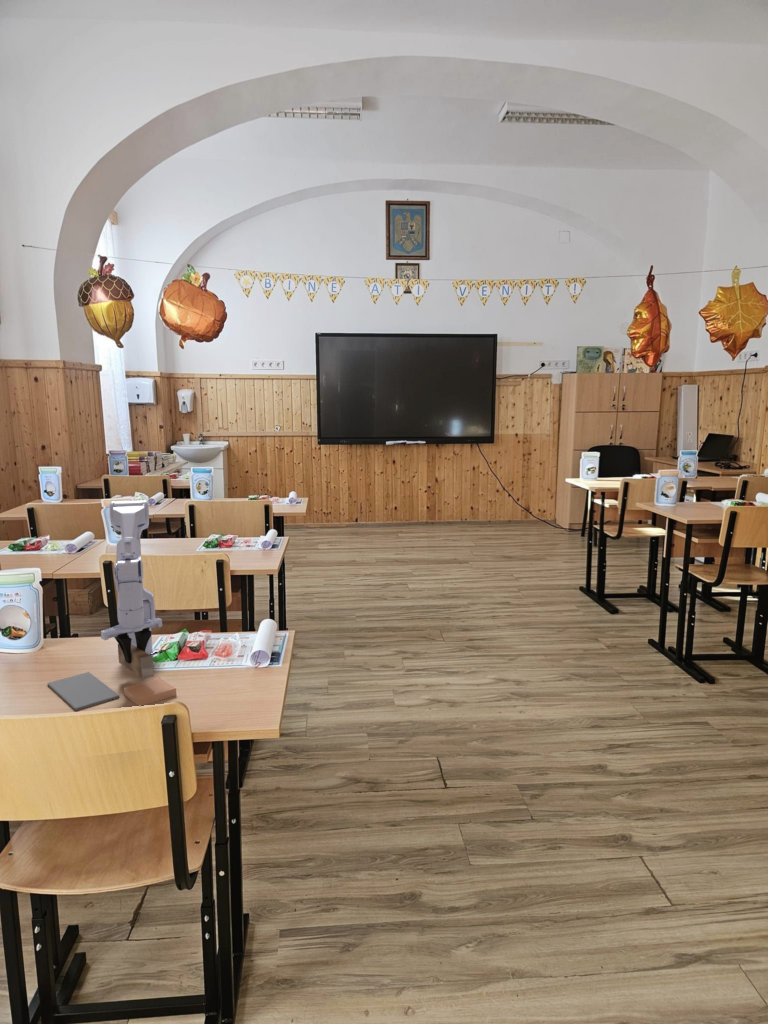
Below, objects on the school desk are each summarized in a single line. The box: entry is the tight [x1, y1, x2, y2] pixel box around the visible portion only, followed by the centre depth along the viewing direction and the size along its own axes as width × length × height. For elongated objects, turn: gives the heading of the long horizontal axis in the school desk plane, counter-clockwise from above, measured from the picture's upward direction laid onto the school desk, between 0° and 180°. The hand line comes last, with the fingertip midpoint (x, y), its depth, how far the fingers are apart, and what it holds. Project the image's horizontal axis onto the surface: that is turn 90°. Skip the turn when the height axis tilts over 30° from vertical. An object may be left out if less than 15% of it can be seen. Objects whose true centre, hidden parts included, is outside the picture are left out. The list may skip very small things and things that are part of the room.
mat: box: [47, 671, 120, 711], centre depth 158 cm, size 20×10×1 cm, turn 44°
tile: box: [123, 677, 177, 706], centre depth 156 cm, size 2×9×9 cm
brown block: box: [117, 643, 155, 680], centre depth 161 cm, size 15×3×5 cm, turn 44°
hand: (134, 660), depth 161 cm, fingers closed on brown block, 2 cm apart
